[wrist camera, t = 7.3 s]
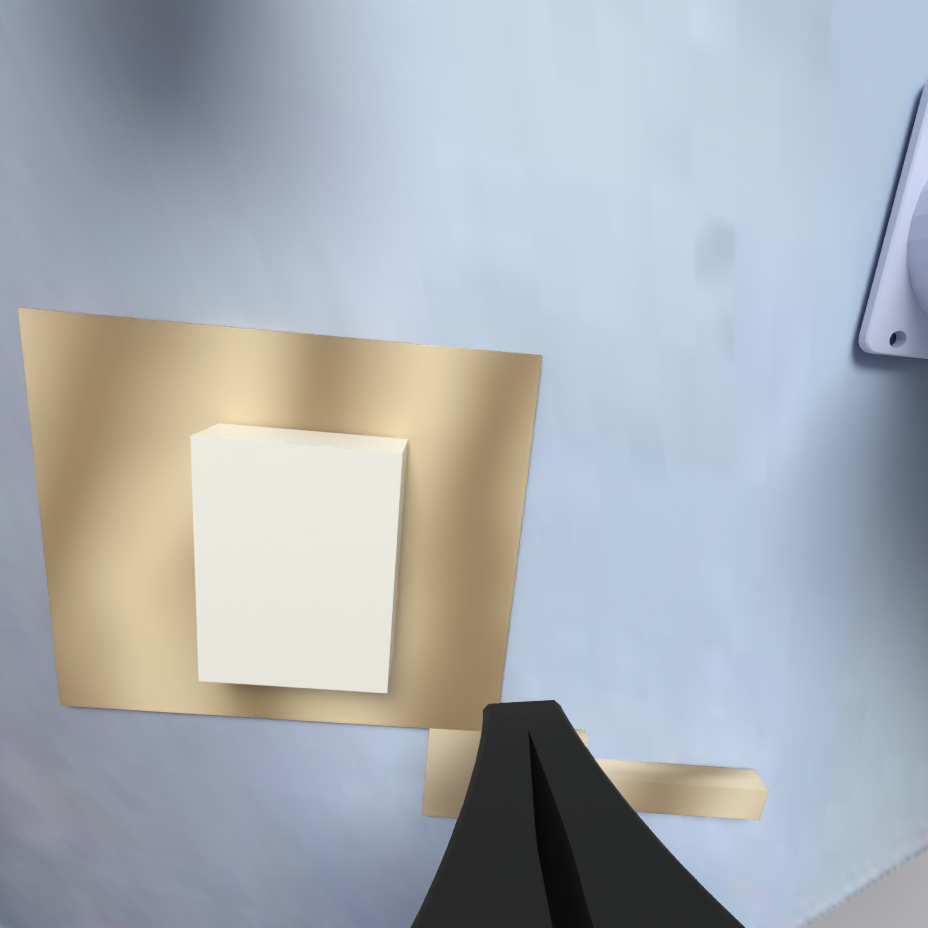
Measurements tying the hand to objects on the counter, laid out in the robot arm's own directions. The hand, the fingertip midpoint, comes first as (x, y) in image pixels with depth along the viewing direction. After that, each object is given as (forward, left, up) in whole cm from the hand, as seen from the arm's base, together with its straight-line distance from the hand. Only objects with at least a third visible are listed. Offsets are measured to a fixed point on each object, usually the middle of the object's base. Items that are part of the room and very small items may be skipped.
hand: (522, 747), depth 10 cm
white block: (+3, 0, -8) cm, 8 cm away
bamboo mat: (+7, 0, -9) cm, 12 cm away
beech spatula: (-5, +9, -9) cm, 14 cm away
